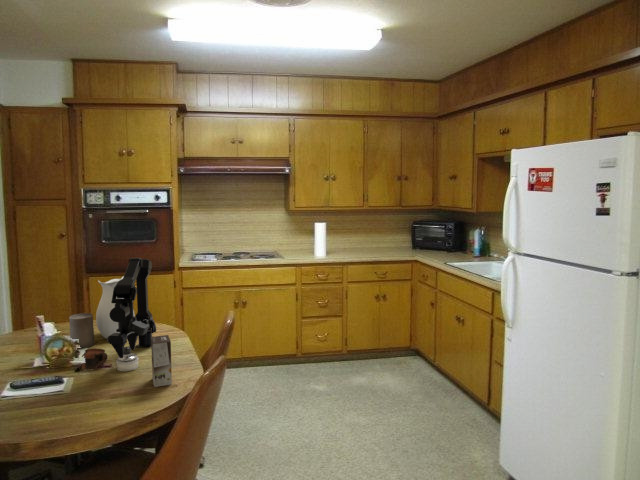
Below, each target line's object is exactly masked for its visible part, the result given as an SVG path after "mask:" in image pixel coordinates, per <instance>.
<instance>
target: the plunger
mask: <svg viewBox="0 0 640 480" xmlns="http://www.w3.org/2000/svg"><path fill="white" fill-rule="evenodd" d="M137 356H138V355H137V354H136V353H132V350H131V347H130V346H124V354H123V358H120V357H119V356H117V358H116V359H118V360H119V361H130V360H134V359H136V358H137Z"/></svg>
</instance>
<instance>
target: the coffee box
mask: <svg viewBox="0 0 640 480" xmlns="http://www.w3.org/2000/svg"><path fill="white" fill-rule="evenodd" d="M150 350H151V371H152V375H151V376H152V383H153V387H154V388H158V387H163V386H171V385H172V384H173V382H172V381H173V378H172V342H171V338H170V337H169V335H168V334H166V335H156V336H152V337H151V347H150Z"/></svg>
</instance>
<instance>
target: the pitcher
mask: <svg viewBox="0 0 640 480" xmlns="http://www.w3.org/2000/svg"><path fill="white" fill-rule="evenodd" d="M123 277H124V275H123V276H122V277H121V278H114V279H113V278H112V279H110V280H108V281H105V282H101V281H100V280H97V282H98V283H99V284H100V285H101V289H102V293H101V298H100V300H99V303H98V305H97V308H96V312H95V313H96V314H95V321H96V322H95V324H96V327H97V329H98V331H99V333H100V334H101V336H102V338H103V339H107V338H108V337H109V336H110V335H111V334H113V333H120V332H116V329H118V322H114V321H113V320H111V318H110V315H109V314H110V311H111V310H112V309H113V308H114V307H115V304H116V303H111V301H112V296H113V290H114V287H115V286H116V284H117V282H118V281H120V280H121V279H123ZM116 299H124V298H117V297H116ZM133 311H134V312H135V310H134V308H133Z"/></svg>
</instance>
